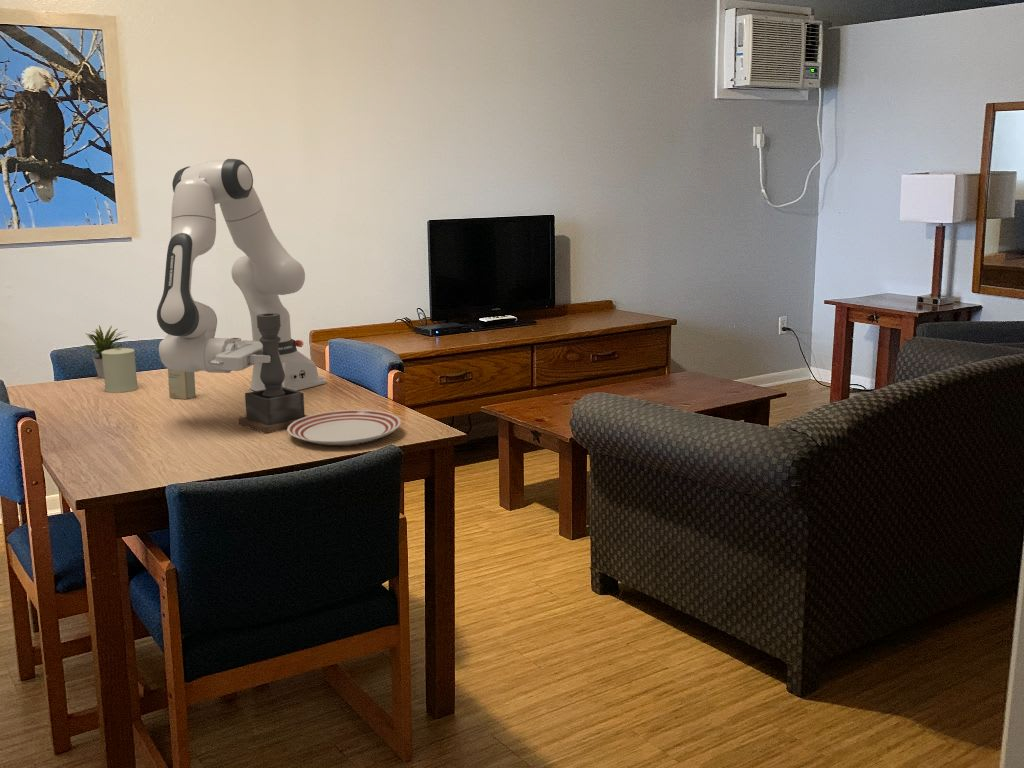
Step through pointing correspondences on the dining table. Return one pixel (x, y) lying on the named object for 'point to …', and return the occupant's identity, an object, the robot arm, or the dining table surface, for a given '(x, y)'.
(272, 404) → the dark square box
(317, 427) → the dinner plate
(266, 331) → the candle holder
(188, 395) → the skincare box
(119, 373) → the can
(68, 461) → the dining table surface
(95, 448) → the dining table surface
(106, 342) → the house plant
